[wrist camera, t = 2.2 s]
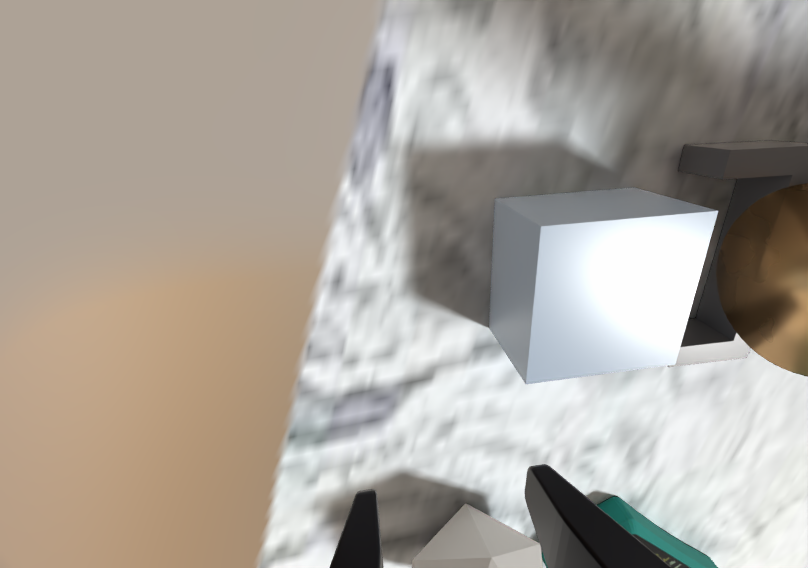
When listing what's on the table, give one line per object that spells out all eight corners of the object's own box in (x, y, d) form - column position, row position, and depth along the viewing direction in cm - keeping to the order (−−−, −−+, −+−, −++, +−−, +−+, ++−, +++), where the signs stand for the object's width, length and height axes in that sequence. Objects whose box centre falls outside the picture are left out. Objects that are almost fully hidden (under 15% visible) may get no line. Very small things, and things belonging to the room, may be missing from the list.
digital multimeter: (606, 484, 29) (633, 524, 26) (707, 552, 34) (739, 591, 32) (530, 544, 31) (548, 588, 28) (638, 600, 36) (662, 641, 33)
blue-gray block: (650, 185, 20) (742, 208, 15) (624, 310, 23) (695, 361, 18) (493, 197, 19) (541, 226, 14) (488, 326, 22) (525, 384, 17)
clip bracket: (771, 140, 19) (827, 144, 17) (708, 333, 24) (746, 357, 22) (684, 144, 19) (730, 150, 17) (637, 341, 23) (668, 367, 21)
